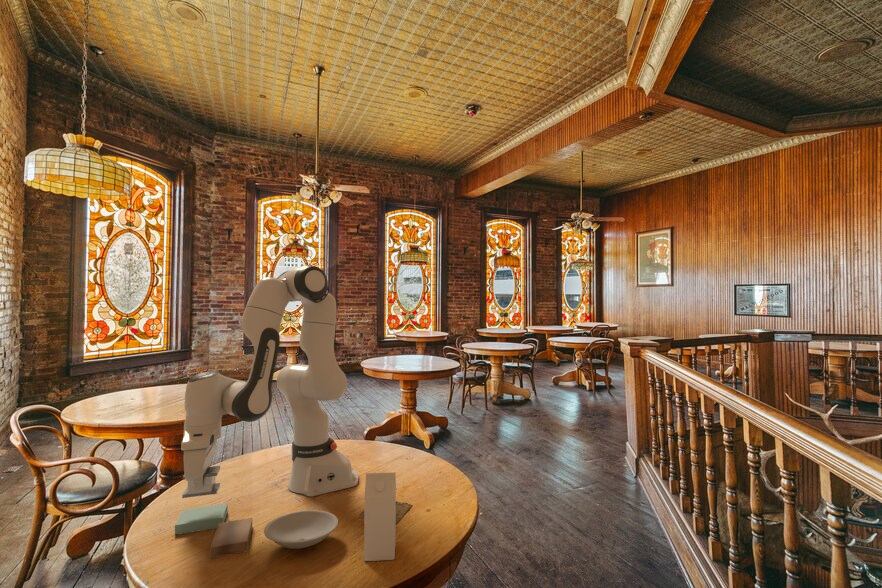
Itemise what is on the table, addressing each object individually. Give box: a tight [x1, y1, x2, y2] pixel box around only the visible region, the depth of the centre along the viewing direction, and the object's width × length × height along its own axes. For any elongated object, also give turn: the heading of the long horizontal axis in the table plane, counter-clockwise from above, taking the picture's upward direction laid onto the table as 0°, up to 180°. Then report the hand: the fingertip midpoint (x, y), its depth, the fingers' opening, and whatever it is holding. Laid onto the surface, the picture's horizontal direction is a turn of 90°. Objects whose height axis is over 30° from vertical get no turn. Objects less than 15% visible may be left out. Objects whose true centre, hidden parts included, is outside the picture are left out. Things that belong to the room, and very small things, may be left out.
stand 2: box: [209, 517, 253, 559], centre depth 102 cm, size 8×11×2 cm
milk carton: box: [363, 472, 397, 562], centre depth 98 cm, size 7×7×19 cm
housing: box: [181, 465, 221, 499], centre depth 110 cm, size 5×8×6 cm, turn 109°
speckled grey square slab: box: [357, 500, 414, 525], centre depth 117 cm, size 12×12×1 cm
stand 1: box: [174, 503, 229, 535], centre depth 110 cm, size 11×8×2 cm
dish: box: [263, 509, 339, 550], centre depth 101 cm, size 18×14×5 cm
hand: (201, 483), depth 110 cm, fingers closed on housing, 5 cm apart
